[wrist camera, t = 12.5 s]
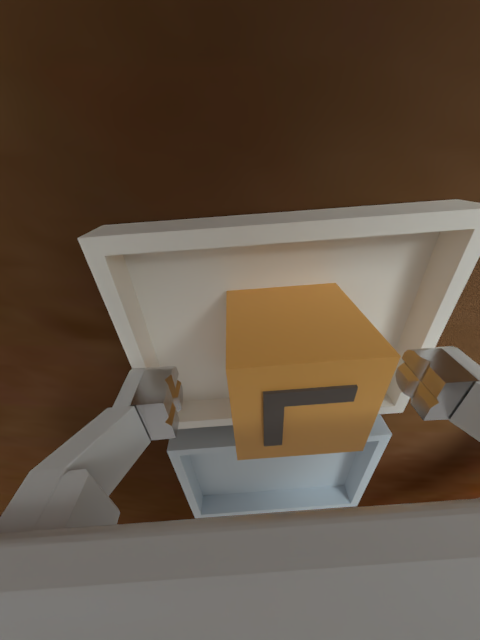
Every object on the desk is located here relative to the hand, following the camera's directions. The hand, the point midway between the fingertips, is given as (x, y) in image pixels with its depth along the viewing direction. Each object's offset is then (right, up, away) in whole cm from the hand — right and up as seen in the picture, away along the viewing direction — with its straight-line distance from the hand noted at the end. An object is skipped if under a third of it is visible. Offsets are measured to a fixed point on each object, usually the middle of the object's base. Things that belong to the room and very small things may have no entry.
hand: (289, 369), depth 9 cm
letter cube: (0, +1, +2) cm, 3 cm away
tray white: (0, +2, +3) cm, 3 cm away
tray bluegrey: (+1, -8, +9) cm, 13 cm away
